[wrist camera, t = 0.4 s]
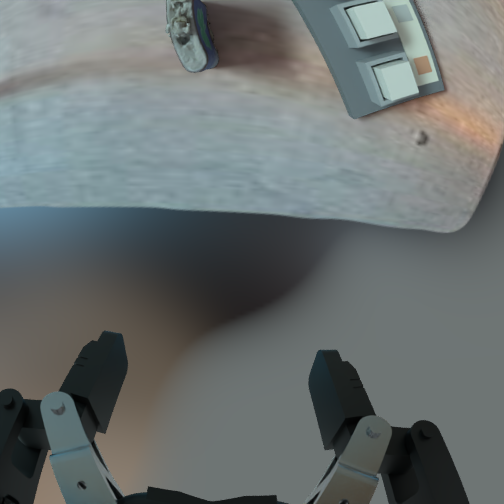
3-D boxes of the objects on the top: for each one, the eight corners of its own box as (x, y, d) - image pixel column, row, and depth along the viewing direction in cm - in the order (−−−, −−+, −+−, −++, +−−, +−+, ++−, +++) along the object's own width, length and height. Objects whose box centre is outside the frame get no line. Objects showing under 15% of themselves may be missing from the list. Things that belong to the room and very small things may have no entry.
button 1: (369, 67, 24) (380, 69, 21) (396, 59, 22) (409, 61, 20) (380, 95, 26) (391, 100, 23) (406, 87, 24) (419, 92, 22)
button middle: (343, 10, 20) (352, 7, 17) (371, 4, 18) (383, 0, 16) (357, 39, 22) (367, 38, 19) (385, 32, 21) (397, 31, 18)
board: (267, -36, 18) (269, -49, 15) (370, -58, 14) (386, -69, 10) (349, 115, 31) (362, 125, 27) (436, 87, 27) (457, 95, 23)
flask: (221, 65, 27) (207, 70, 19) (197, 71, 28) (172, 79, 19) (205, -2, 21) (184, -24, 13) (180, 5, 22) (149, -12, 14)
